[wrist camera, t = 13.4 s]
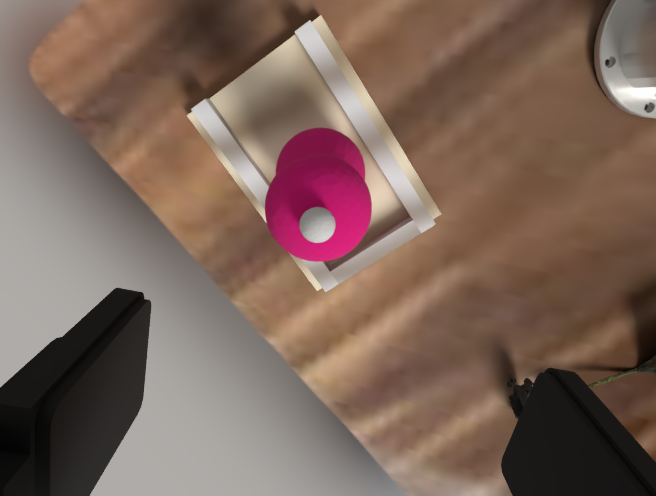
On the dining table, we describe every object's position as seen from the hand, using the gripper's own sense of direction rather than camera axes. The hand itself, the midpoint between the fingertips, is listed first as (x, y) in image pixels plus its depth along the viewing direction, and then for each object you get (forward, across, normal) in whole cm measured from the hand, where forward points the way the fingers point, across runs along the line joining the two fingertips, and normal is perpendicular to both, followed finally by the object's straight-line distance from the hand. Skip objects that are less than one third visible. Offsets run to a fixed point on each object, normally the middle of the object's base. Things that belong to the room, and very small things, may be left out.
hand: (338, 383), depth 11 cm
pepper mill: (+32, +1, 0) cm, 32 cm away
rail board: (+32, +1, 0) cm, 32 cm away
